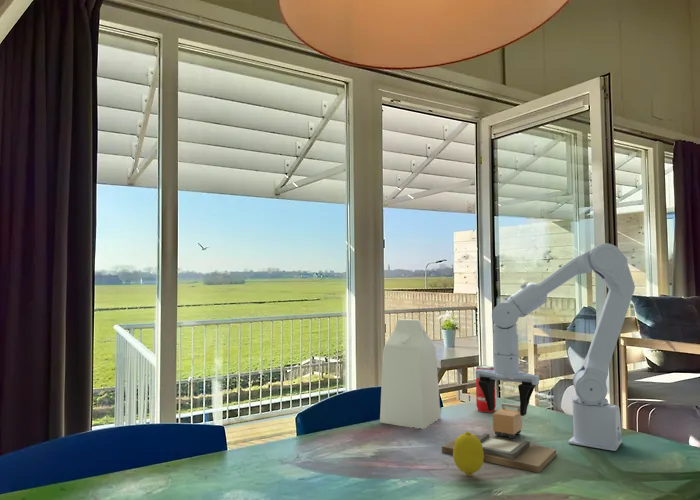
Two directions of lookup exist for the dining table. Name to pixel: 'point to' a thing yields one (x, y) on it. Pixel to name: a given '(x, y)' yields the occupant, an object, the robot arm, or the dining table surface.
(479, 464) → the lemon
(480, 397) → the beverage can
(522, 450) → the dock
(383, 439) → the dining table surface
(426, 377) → the milk
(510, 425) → the toy cart
